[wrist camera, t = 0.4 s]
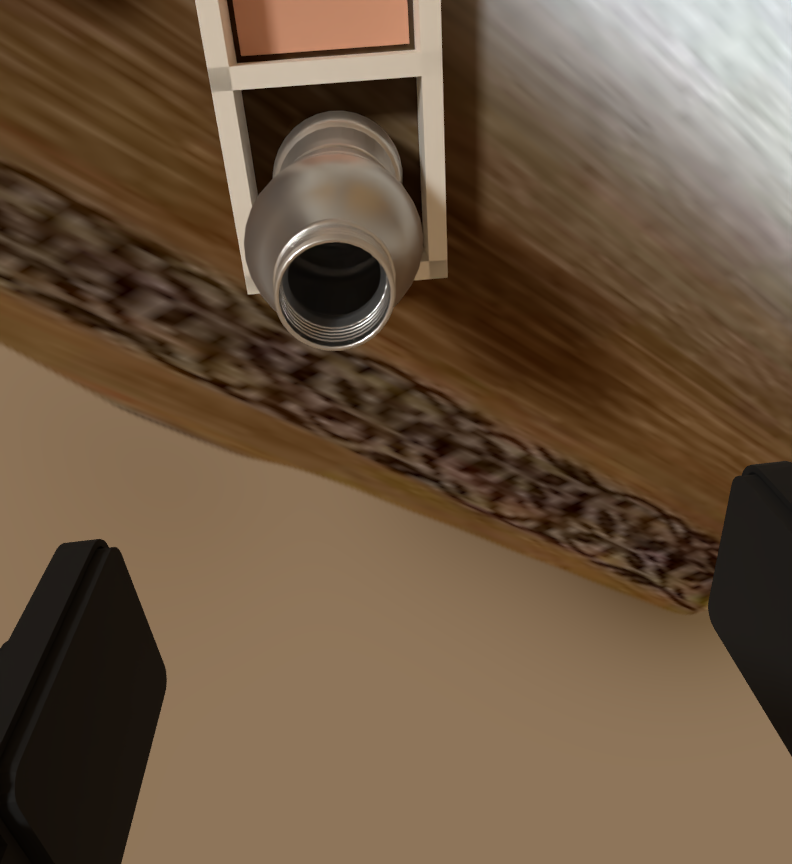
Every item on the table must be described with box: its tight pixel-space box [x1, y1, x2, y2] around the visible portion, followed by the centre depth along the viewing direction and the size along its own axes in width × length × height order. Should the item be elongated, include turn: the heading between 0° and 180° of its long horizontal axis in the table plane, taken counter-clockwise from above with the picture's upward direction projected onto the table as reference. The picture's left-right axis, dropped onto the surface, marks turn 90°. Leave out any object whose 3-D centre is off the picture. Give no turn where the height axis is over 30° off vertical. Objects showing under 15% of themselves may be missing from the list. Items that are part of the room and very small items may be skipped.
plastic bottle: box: [244, 111, 423, 351], centre depth 29 cm, size 6×7×20 cm
